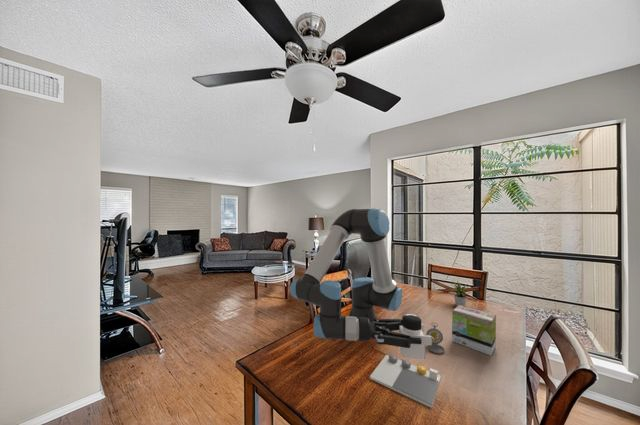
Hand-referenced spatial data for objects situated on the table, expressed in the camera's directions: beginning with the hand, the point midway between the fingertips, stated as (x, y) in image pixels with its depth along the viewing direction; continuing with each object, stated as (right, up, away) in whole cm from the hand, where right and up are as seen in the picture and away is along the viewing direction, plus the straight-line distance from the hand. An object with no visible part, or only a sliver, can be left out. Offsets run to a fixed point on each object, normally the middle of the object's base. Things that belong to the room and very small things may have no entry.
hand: (426, 333), depth 77 cm
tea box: (+33, -19, +26) cm, 46 cm away
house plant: (+54, -20, +73) cm, 93 cm away
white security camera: (-5, -7, +1) cm, 8 cm away
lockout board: (-6, -18, +4) cm, 19 cm away
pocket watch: (+14, -19, +23) cm, 33 cm away
